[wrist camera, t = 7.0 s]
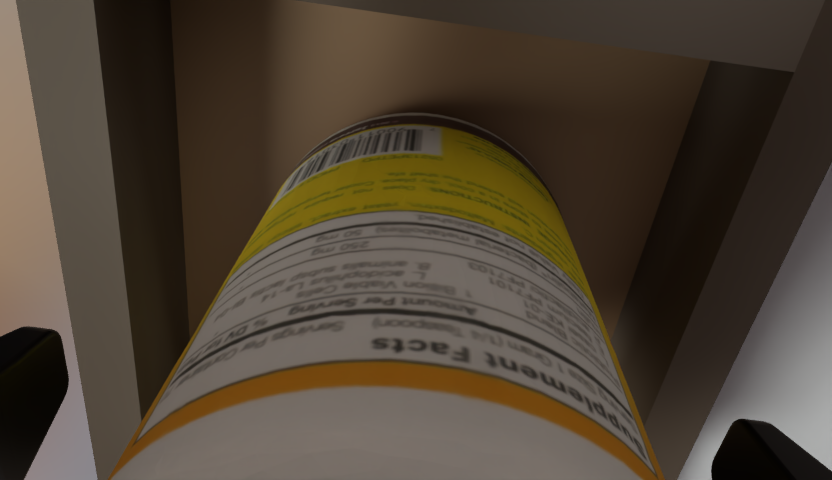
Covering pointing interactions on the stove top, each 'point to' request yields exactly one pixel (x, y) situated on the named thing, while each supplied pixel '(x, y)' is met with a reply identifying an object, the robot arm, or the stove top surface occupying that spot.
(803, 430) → the stove top surface
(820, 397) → the stove top surface
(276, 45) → the holder board
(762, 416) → the stove top surface
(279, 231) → the supplement bottle
